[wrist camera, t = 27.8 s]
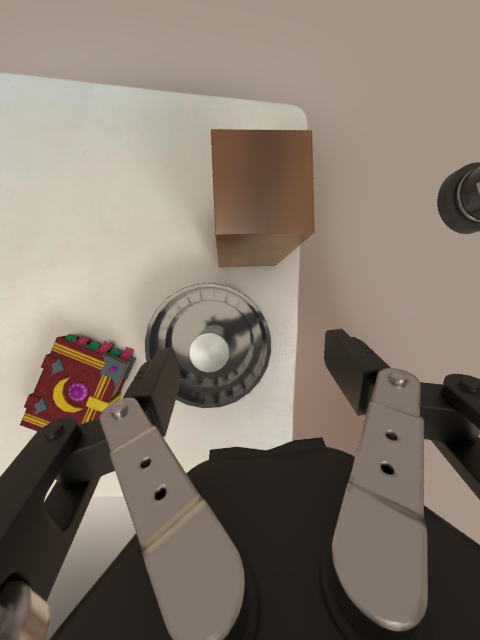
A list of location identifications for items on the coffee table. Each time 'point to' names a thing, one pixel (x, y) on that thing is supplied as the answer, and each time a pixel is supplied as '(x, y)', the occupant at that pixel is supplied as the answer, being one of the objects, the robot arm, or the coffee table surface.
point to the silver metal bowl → (204, 313)
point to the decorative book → (77, 381)
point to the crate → (261, 194)
